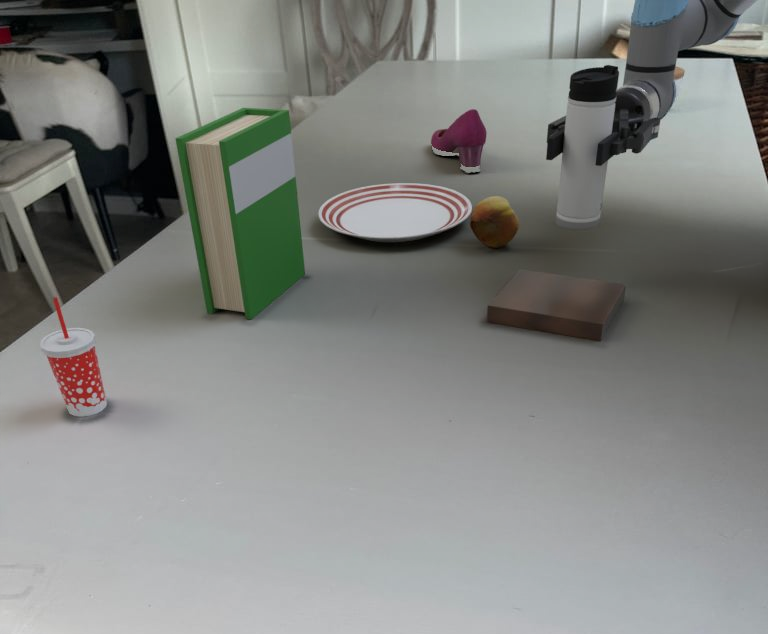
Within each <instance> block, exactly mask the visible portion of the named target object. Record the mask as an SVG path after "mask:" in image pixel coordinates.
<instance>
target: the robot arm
mask: <svg viewBox="0 0 768 634" xmlns="http://www.w3.org/2000/svg"><path fill="white" fill-rule="evenodd" d="M758 1H759V0H634V4H633V9H632V12H631V17H630V20H631V21H630V28H629V36H628V44H627V52H626V61H625V68H624V73H623V74H624V76H623V82H622V86H620V87H618V88H617V90H616V92H617V93H616V101H615V111H614V119H613V126H612V134H611V135H609V136H608V137H606V138H605V139H604V140H602V141H601V142H599V143H598V148H597V156H596V164H595V165H597V166H601V165H603V164H604V163H605V162H606V161H608V162H609V160H611V158H613V157H614V156H618V155H620V154H625V153H627V150H631V153H632V154H634V155H635V154H637V155H638V154H641V152H642V151H643V150H644V149H645V148H646V147H647V145H648V144H649V143H650V141H651V140H655V139H657V138H659V131H660V126H661V120H663V119H664V118H665V117H666V115H668V113H669V112H670V110H671V108H672V107H673V105H674V103H675V101H676V100H675V98H676V85H675V82H674V79H673V78H674V71H675V66H676V65H677V60H678V54H679V52H681V51H684V50H688V49H692V48H696V47H702V46H709V45H714V44H716V43H717V42H719V41H721V40H724V39H725V38H727V37H729V35H730V34H731V33H732V32H733V31H734V30H735V28H736V26H737V24H738V22H739V20H740V17H741V16H742V15H743V14H744V13H746V12H747V11H748V9H750V8H751V7H752V6H753V5H754V4H756V3H757V2H758ZM676 67H677V66H676ZM676 99H677V98H676ZM565 122H566V115H564V116H562V117H560V118H557V119H556V120H554V121H552V122H550V123H548V124H547V132H546V133H547V134H546V157H545V160H546V161H553V160H554V159H556V158H557V157H558V156H560V155H562V152H563V142H564V132H565Z"/></svg>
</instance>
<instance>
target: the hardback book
mask: <svg viewBox="0 0 768 634" xmlns="http://www.w3.org/2000/svg"><path fill="white" fill-rule="evenodd" d="M174 139H175V143H176V144H175V145H176V149H177V155H178V156H177V157H178V160H179V165H180V167H179V168H180V171H181V177H182V182H183V188H184V194H185V198H186V205H187V210H188V215H189V221H190V226H191V227H190V228H191V231H192V239H193V242H194V248H195V249H194V250H195V254H196V259H197V265H198V270H199V276H200V280H201V281H200V282H201V286H202V292H203V297H204V304H205V308H206V313H207V314H211V315H213V314H215V313H216V312H217V311H218V310H227V311H234V312H240V313H244V317H245V319H246V320H253V319H254V318H255V317H256V316H257V315H259V314H260V313H261V312H263V310H264V309H266V308H267V307H268V306H269V305H271V304H272V303H273V302H274V301H275V300H277V298H279V297H280V296H281V295H283V294H284V293H285V292H286V291H287V290H288V289H290V288H291V287H292V286H294V284H295V283H297V281H299V280H300V279H301V278H303V277H304V276H305V275H306V267H305V259H304V258H305V257H304V248H303V239H302V227H301V219H300V218H301V217H300V207H299V199H298V188H297V177H296V168H295V166H296V165H295V157H294V148H293V147H294V146H293V137H292V127H291V117H290V110H289V109H276V108H275V109H274V108H258V107H257V108H256V107H242V108H239V109H237V110H235V111H233V112H230V113H229V114H226V115H224V116H221V117H220V118H217V119H215V120H213V121H211V122H208V123H206V124H204V125H202V126H199V127H197V128H195V129H193V130H191V131H188V132H186V133H184V134H182V135H179V136H177V137H175V138H174Z"/></svg>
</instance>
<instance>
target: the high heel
mask: <svg viewBox="0 0 768 634" xmlns="http://www.w3.org/2000/svg"><path fill="white" fill-rule="evenodd" d="M487 134H488V133H487V128H486V126H485V124H484V123H483V121H482V119H481V116H480V114H479V111H478V110H477V109H474V108H473V109H472V108H471V109H470V110H467V111H465V112H464V113H462V114H461V115H460V116H458V117H457V118H456V119H455V120H454V121H453V122H452V123H451V124H450V125H449V127H448V128H440V129H437V130H435V131H434V132H433V134H432V135H431V140H430V145H431V144H432V146H433V147H434V148H436V149H438V150H441V151H446V152H452V153H459V156H458V158H459V164H460V163H461V164H462V165H463V166H465V167H476V166H479V165H480V166H481V160H482V153H483V149H484V146H485V144H486V141H487ZM463 174H467V173H466V172H463Z"/></svg>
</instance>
